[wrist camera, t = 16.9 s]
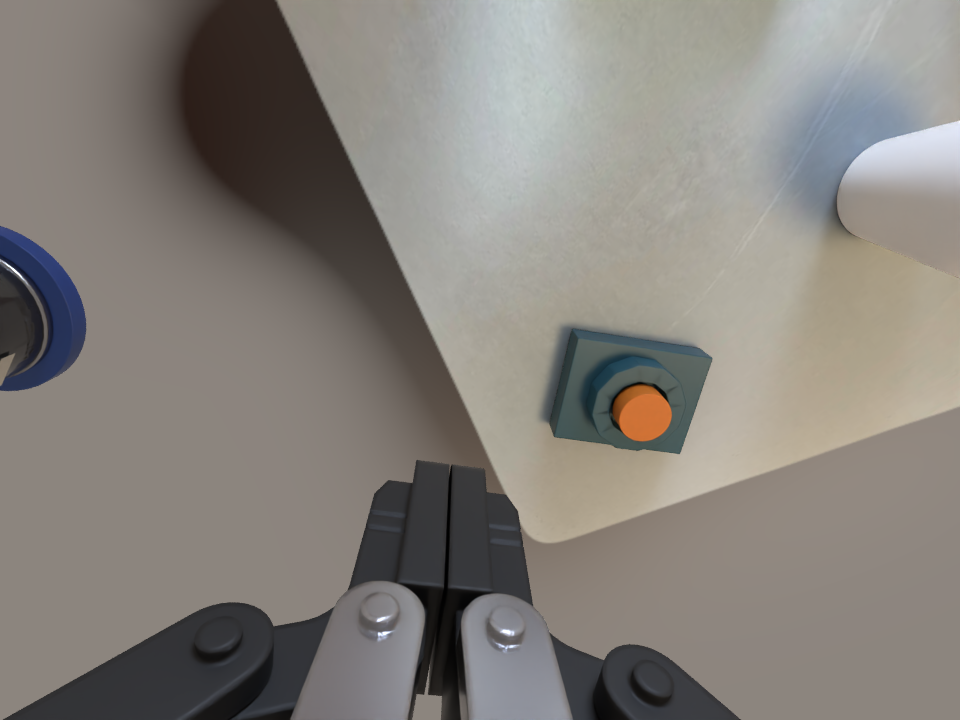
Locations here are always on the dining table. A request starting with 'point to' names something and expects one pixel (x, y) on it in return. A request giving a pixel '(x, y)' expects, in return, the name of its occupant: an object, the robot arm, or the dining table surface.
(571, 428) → the button block
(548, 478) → the dining table surface
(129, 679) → the robot arm
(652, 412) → the push button
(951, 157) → the cup
